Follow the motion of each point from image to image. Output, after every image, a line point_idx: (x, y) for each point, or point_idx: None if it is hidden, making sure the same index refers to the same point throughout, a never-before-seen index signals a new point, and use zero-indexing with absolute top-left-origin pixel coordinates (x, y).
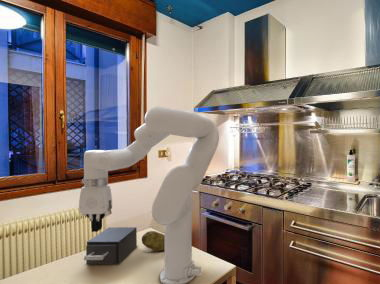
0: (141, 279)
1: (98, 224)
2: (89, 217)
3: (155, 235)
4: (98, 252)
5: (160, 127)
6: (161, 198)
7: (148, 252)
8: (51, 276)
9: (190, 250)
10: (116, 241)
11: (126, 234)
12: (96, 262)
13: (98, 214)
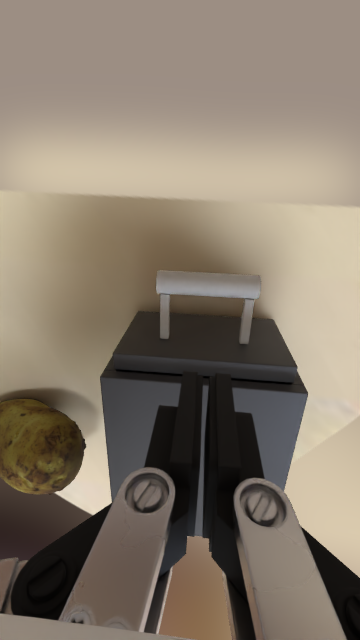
0: None
1: (161, 438)
2: (303, 554)
3: (3, 458)
4: (216, 340)
5: None
6: None
7: (65, 396)
8: None
9: None
10: (114, 380)
11: (113, 457)
12: (226, 318)
13: (97, 610)
